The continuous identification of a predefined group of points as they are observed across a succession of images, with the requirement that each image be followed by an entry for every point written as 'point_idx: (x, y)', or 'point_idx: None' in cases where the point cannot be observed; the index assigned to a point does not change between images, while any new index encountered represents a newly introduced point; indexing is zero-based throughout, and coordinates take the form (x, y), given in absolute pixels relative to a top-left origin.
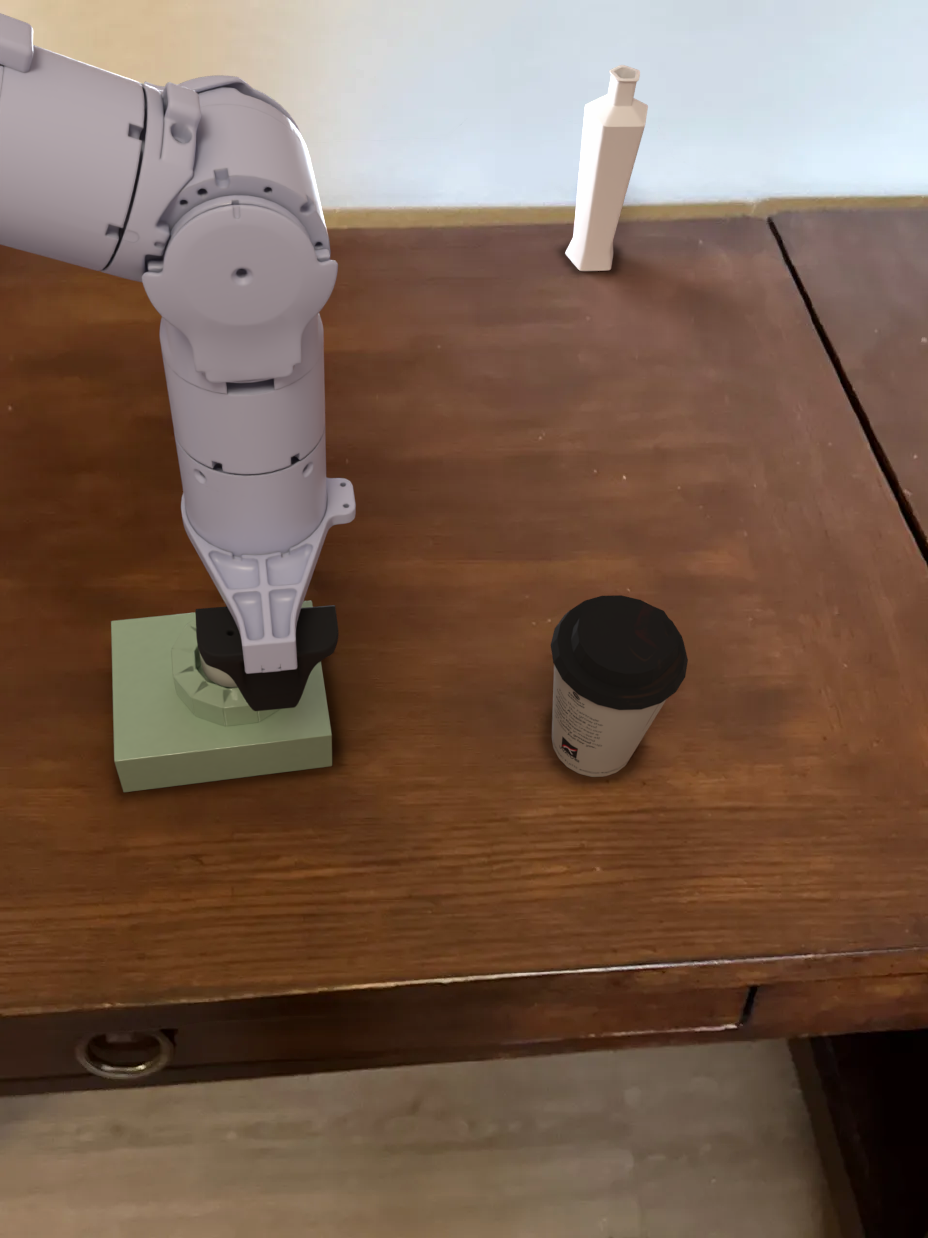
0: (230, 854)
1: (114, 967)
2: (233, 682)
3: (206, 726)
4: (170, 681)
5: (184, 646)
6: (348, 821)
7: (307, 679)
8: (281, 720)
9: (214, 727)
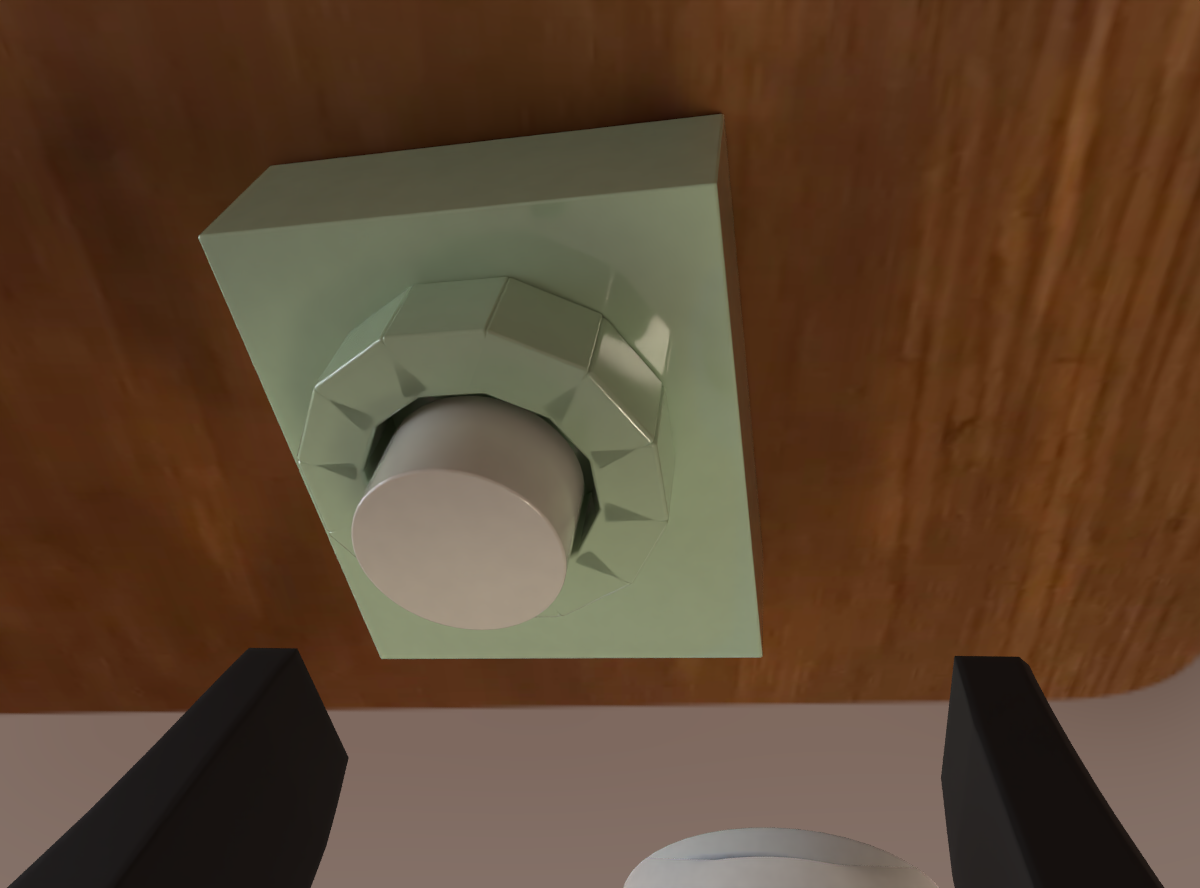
0: (961, 365)
1: (1181, 565)
2: (580, 499)
3: (673, 499)
4: None
5: None
6: (920, 64)
7: (1149, 877)
8: (656, 327)
9: (677, 483)
